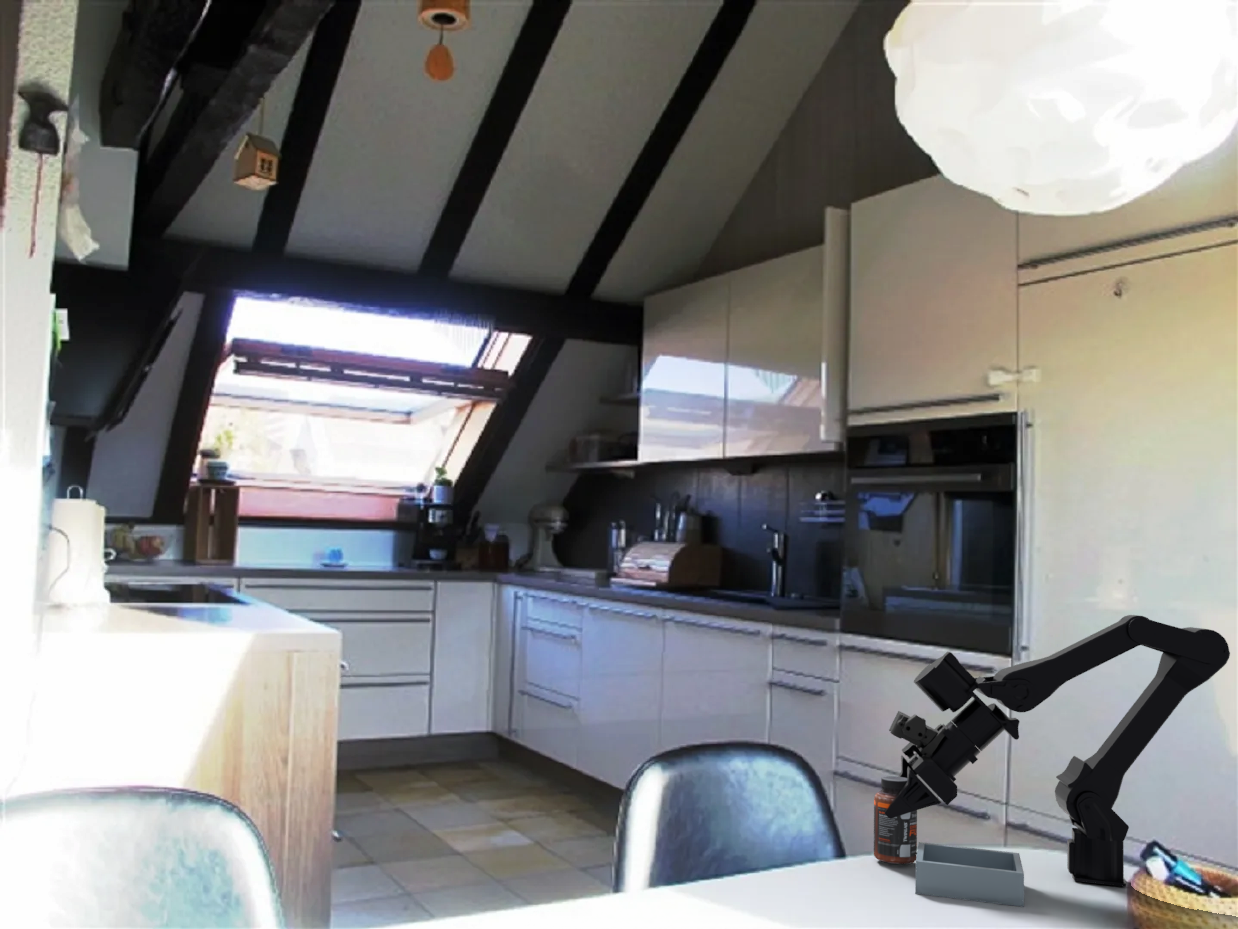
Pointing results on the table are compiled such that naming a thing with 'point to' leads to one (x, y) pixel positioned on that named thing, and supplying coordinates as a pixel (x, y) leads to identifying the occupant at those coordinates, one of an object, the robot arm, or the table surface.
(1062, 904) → the table surface
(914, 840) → the supplement bottle
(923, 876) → the tote
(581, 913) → the table surface
